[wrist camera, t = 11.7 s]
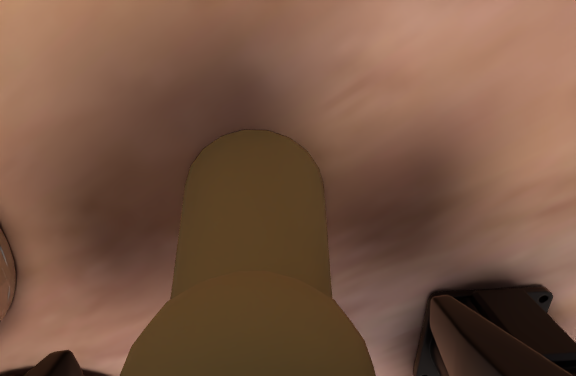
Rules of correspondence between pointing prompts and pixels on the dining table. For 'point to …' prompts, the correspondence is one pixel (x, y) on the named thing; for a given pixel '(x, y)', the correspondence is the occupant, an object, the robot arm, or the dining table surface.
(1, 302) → the pot
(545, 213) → the dining table surface
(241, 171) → the cork
